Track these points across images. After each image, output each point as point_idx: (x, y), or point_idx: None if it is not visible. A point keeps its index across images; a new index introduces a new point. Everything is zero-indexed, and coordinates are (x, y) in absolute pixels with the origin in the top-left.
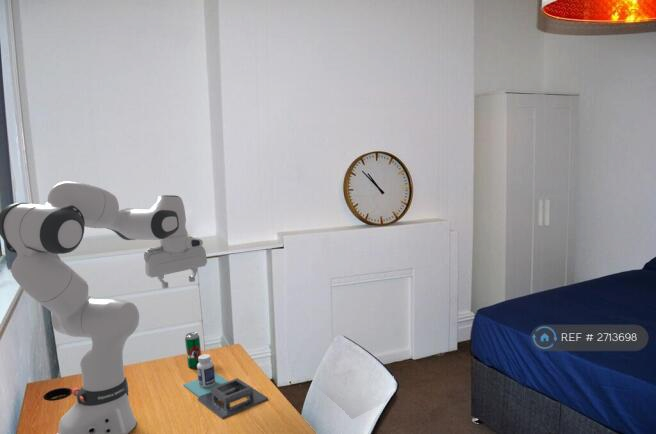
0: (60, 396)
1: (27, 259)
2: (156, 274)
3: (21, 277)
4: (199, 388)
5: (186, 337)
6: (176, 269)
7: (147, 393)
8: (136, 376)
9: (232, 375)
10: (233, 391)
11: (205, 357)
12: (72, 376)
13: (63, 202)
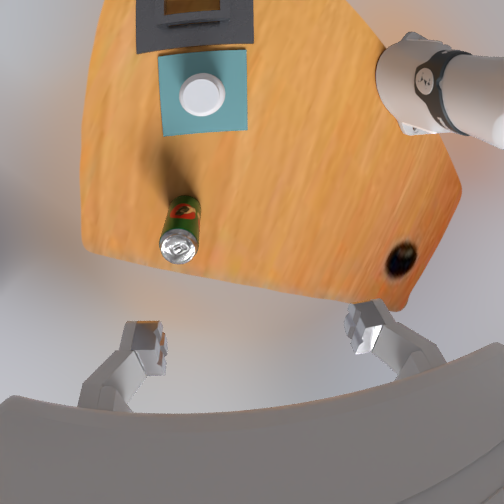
0: (404, 250)
1: None
2: (488, 360)
3: None
4: (228, 84)
5: (195, 246)
6: (326, 424)
7: (317, 152)
8: (299, 241)
9: (136, 104)
10: (173, 26)
11: (201, 86)
12: None
13: None
